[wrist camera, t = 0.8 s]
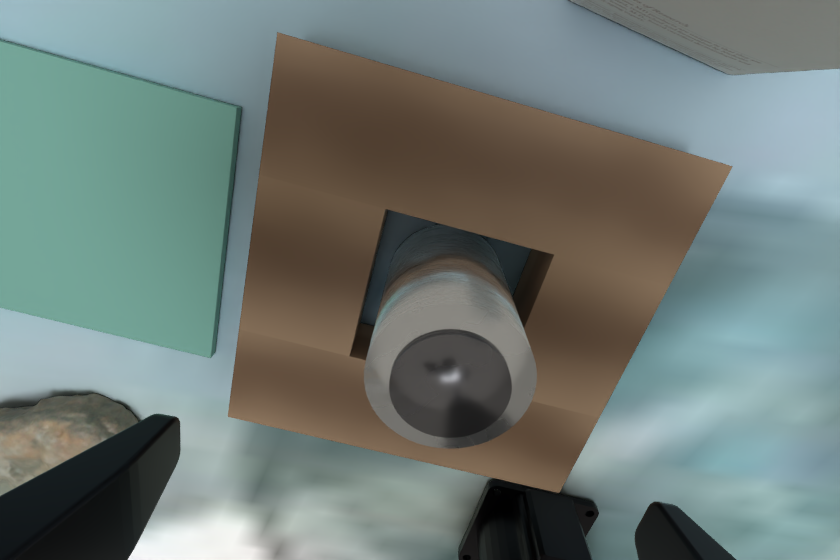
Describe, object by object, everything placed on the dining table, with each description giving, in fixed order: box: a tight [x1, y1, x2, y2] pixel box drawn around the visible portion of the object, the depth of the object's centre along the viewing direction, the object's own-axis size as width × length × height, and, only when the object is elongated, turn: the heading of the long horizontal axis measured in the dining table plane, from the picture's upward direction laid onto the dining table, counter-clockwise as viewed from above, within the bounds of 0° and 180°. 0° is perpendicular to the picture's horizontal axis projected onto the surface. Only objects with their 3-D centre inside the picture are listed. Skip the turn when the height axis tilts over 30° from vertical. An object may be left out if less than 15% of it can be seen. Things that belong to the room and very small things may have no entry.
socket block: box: [228, 32, 733, 493], centre depth 20 cm, size 16×16×3 cm
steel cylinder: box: [364, 225, 537, 449], centre depth 17 cm, size 5×5×8 cm
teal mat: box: [0, 39, 242, 358], centre depth 20 cm, size 12×12×1 cm
